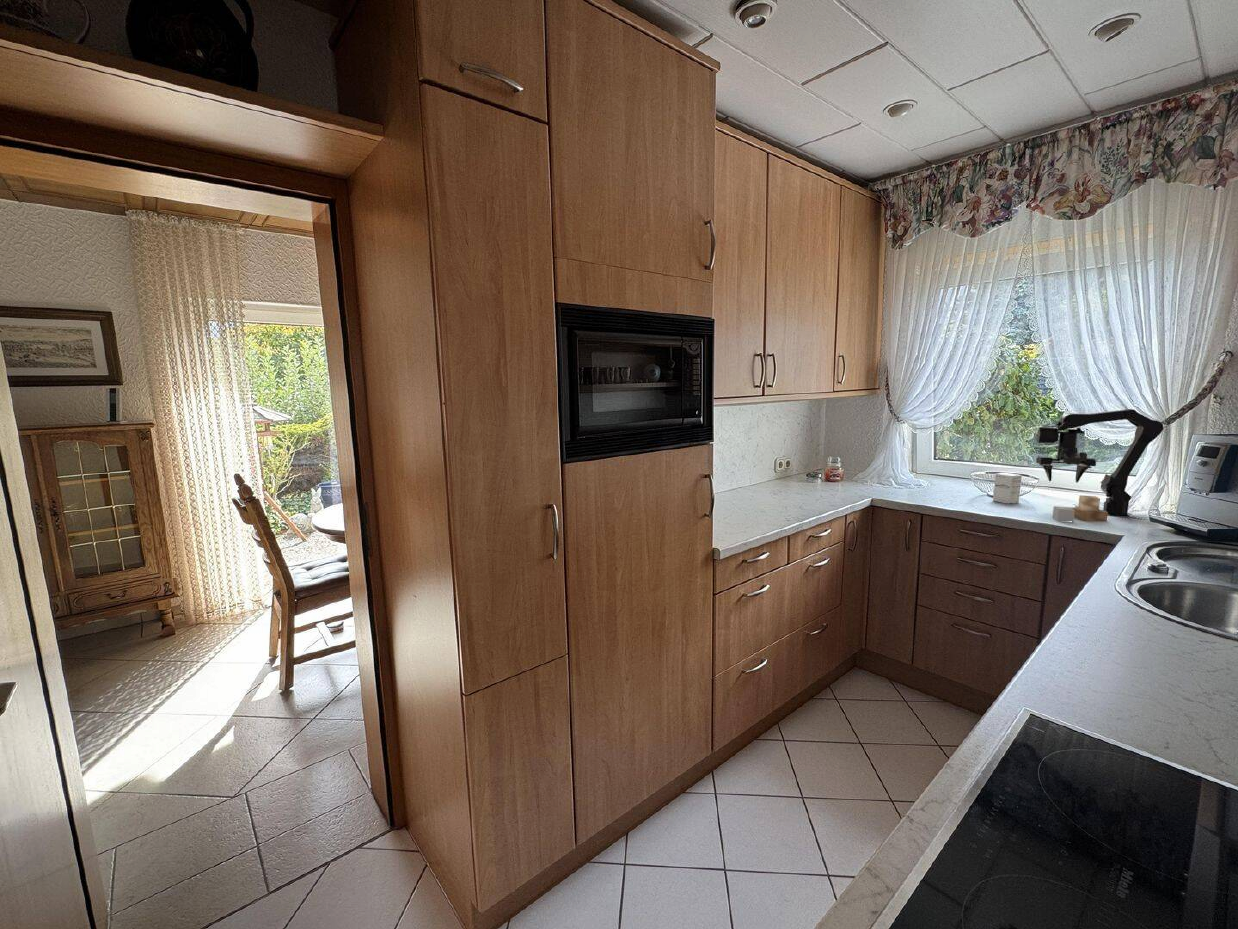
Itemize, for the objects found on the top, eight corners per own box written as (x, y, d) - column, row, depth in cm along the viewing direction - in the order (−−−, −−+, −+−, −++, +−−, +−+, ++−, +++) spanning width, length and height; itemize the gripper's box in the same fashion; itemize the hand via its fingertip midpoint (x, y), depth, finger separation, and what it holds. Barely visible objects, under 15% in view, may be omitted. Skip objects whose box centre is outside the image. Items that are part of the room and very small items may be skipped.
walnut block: (1089, 517, 222) (1090, 507, 222) (1106, 522, 214) (1107, 511, 214) (1069, 517, 222) (1070, 507, 222) (1085, 522, 214) (1086, 512, 214)
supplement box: (992, 501, 251) (994, 473, 249) (1002, 499, 254) (1004, 472, 252) (1009, 504, 244) (1012, 475, 242) (1019, 502, 247) (1022, 474, 245)
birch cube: (1093, 508, 219) (1095, 496, 218) (1098, 511, 215) (1100, 498, 214) (1078, 507, 221) (1079, 495, 220) (1082, 510, 217) (1083, 497, 216)
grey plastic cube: (1067, 519, 217) (1069, 507, 217) (1073, 522, 213) (1074, 509, 212) (1052, 518, 219) (1053, 506, 218) (1057, 521, 214) (1058, 509, 214)
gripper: (1047, 445, 224) (1043, 484, 226) (1104, 447, 218) (1100, 486, 220) (1037, 442, 234) (1033, 479, 237) (1091, 444, 228) (1087, 481, 231)
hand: (1063, 481), depth 231 cm, fingers open, 9 cm apart
